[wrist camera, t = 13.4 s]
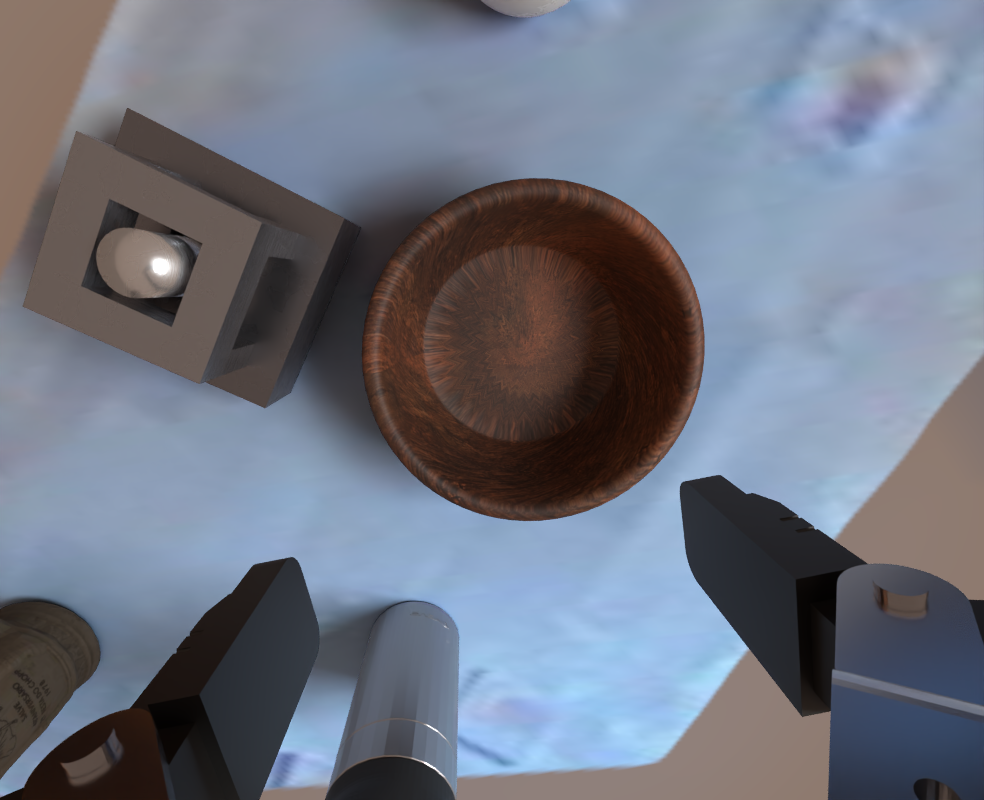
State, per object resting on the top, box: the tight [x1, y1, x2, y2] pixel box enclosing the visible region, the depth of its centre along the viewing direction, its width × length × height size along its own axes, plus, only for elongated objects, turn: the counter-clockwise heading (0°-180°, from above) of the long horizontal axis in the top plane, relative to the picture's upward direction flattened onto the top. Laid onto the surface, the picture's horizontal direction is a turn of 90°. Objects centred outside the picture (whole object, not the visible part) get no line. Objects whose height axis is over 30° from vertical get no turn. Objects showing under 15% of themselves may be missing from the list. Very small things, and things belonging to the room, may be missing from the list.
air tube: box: [96, 228, 203, 298], centre depth 36 cm, size 4×4×14 cm
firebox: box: [23, 108, 361, 408], centre depth 37 cm, size 16×16×13 cm
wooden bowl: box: [362, 178, 704, 521], centre depth 41 cm, size 25×25×10 cm
